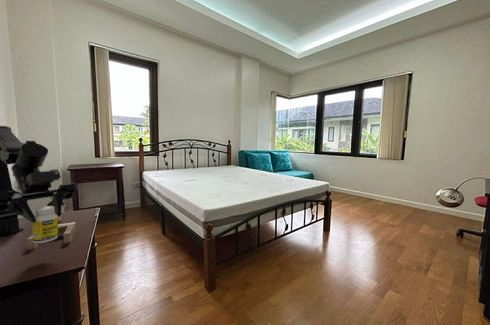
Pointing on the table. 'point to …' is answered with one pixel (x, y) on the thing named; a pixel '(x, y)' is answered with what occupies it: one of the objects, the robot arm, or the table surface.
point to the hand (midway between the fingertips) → (47, 218)
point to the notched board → (63, 230)
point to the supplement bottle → (45, 225)
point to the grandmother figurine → (54, 211)
